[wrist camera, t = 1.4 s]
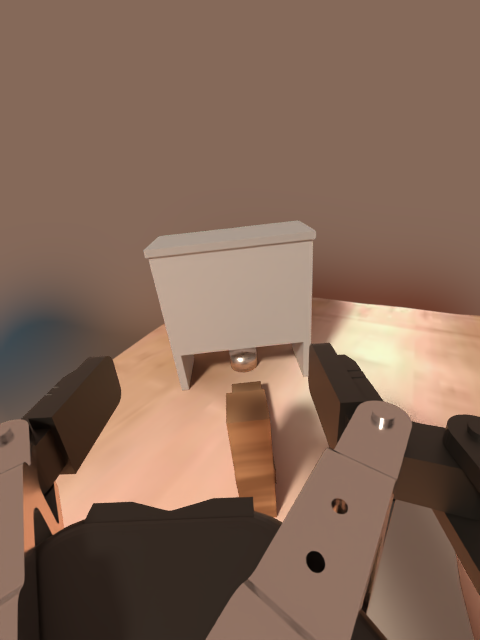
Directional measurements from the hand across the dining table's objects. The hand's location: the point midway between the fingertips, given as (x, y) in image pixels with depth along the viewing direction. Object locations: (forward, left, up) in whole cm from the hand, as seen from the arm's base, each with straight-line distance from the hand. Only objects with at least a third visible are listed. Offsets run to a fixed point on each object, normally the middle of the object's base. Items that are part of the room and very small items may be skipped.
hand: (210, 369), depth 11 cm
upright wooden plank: (-11, -12, -25) cm, 29 cm away
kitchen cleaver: (-16, +6, -25) cm, 31 cm away
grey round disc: (-23, -25, -25) cm, 42 cm away
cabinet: (-22, -24, -25) cm, 41 cm away
